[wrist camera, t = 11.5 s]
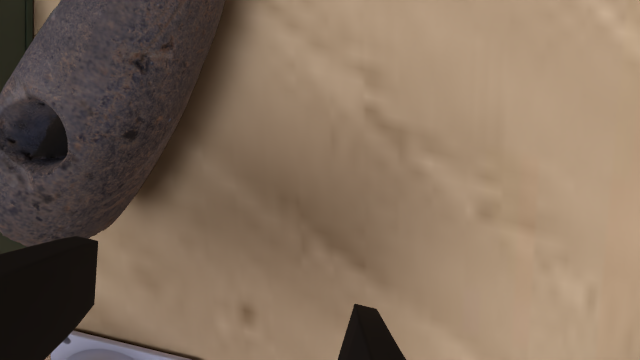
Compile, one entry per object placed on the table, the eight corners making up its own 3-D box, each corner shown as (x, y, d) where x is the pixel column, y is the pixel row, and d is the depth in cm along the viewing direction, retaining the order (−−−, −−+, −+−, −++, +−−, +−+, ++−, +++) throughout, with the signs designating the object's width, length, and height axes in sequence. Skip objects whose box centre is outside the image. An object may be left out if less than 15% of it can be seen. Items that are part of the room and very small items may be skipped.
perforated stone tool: (195, -106, 16) (88, -237, 9) (293, -28, 16) (258, -98, 10) (57, 161, 20) (-89, 204, 13) (140, 216, 20) (41, 284, 14)
